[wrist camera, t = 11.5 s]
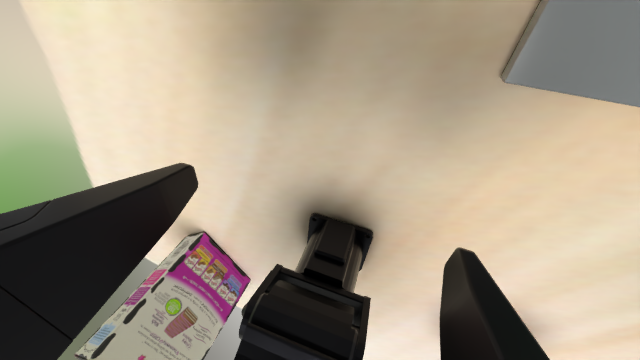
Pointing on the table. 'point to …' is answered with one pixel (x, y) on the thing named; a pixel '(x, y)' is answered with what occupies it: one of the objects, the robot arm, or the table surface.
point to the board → (581, 50)
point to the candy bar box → (173, 307)
